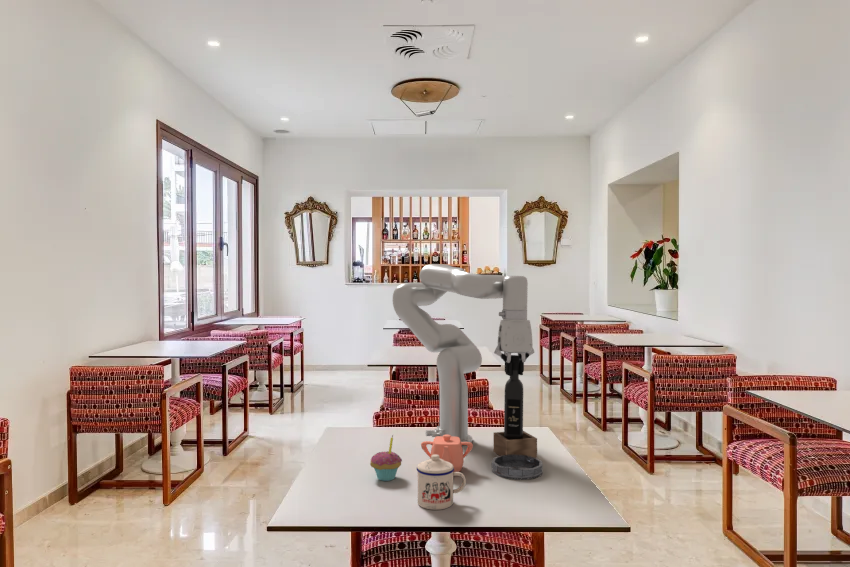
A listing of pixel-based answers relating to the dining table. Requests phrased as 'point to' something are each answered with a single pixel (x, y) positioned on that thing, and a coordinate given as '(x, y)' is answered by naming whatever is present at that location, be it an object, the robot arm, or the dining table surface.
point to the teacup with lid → (437, 483)
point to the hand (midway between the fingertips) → (514, 374)
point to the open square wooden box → (515, 445)
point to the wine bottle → (513, 403)
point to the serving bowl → (517, 466)
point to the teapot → (448, 450)
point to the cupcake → (386, 464)
